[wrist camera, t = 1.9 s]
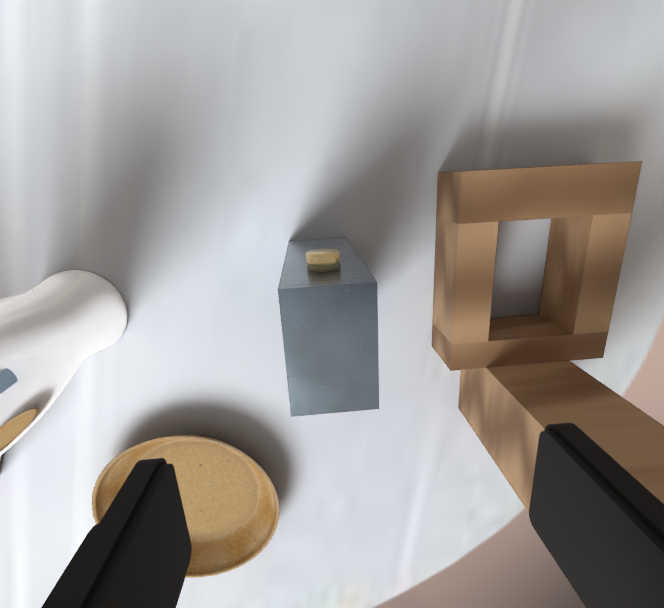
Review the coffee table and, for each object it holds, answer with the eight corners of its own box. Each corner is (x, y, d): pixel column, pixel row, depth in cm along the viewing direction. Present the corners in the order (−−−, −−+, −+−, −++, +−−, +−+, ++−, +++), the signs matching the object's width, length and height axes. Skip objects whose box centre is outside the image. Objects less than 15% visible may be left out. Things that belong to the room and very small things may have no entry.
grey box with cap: (287, 229, 26) (276, 269, 15) (344, 226, 26) (376, 262, 15) (296, 320, 28) (291, 416, 17) (348, 316, 28) (378, 408, 17)
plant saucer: (142, 564, 35) (129, 593, 33) (79, 436, 30) (59, 458, 28) (296, 532, 35) (296, 559, 33) (258, 400, 31) (254, 419, 28)
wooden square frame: (437, 172, 26) (820, 158, 7) (593, 163, 26) (1350, 126, 7) (429, 416, 32) (612, 764, 13) (554, 405, 32) (905, 723, 14)
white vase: (47, 358, 28) (-218, 546, 14) (17, 266, 26) (-339, 377, 11) (144, 350, 28) (-18, 526, 14) (122, 259, 26) (-97, 358, 12)
